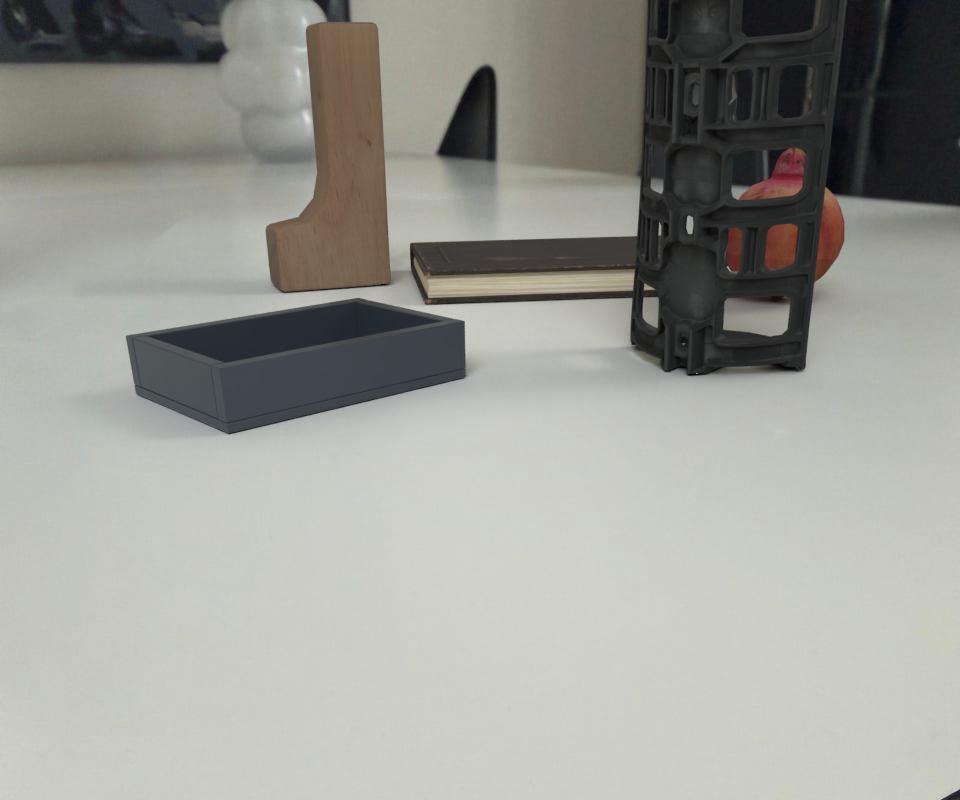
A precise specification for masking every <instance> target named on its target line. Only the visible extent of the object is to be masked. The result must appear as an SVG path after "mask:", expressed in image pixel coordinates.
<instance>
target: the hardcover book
mask: <svg viewBox="0 0 960 800" xmlns="http://www.w3.org/2000/svg"><path fill="white" fill-rule="evenodd" d="M636 244H637V235H625V236H623V235H621V236H592V237H591V236H587V237H557V238H556V237H554V238H524V239H523V238H521V239H519V238H518V239H489V240H486V239H485V240H455V241H454V240H453V241H452V240H450V241H422V242H421V241H419V242H416V241H415V242H410V243H409V258H410V259H409V260H410V262H409V263H410V271H411V273H412V276H413V278H414V281H415V283H416V285H417V288H418V289H419V293H420V295H421V297H422V300H423V302H424V304H425V305H438V304H441V305H442V304H467V303H468V304H469V303H495V302H496V303H497V302H524V301H526V302H527V301H551V300H578V299H579V300H580V299H610V298H611V299H612V298H632V297H633V284H634V270H635V257H636ZM660 255H661V234H659V237H658V260H659V263H660ZM727 267H728V264H727ZM644 297H658V292H657V291H656V290H655V289H654V288H652V287H650V286H648V285H646V284H644Z"/></svg>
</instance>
